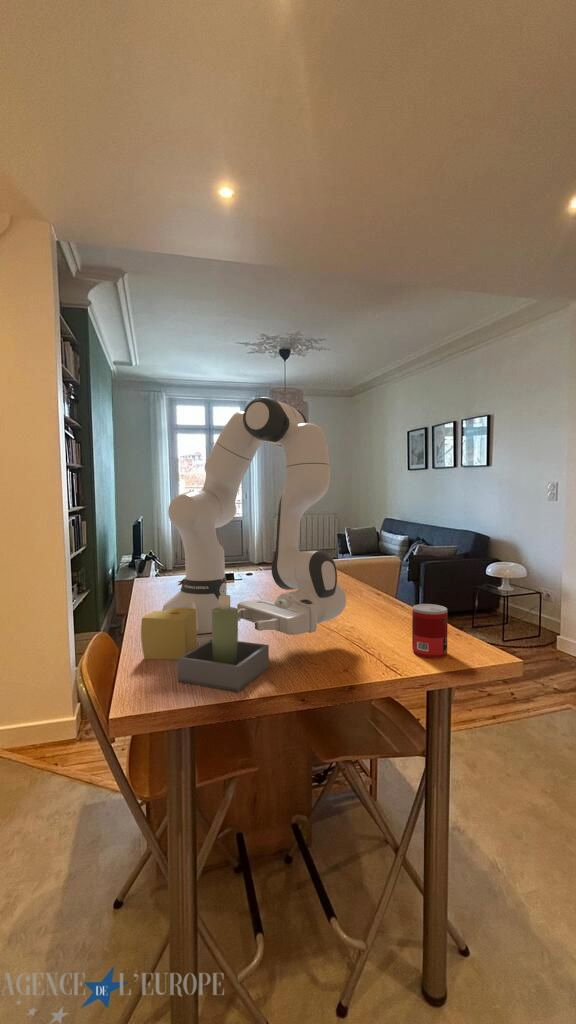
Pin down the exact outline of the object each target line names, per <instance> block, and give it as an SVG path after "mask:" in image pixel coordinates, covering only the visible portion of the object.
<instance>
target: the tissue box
mask: <svg viewBox="0 0 576 1024" xmlns="http://www.w3.org/2000/svg"><path fill="white" fill-rule="evenodd" d="M140 623H141V625H140V626H141V627H140V639H141V648H142V654H143V659H144V660H162V661H163V660H167V661H168V660H169V661H170V660H172V661H174V660H176V661H178V658H179V657H180V656H182V655H184V654H186V653H188V652H189V651H191V650H193V649H195V648H197V641H198V640H197V639H198V638H197V635H198V634H197V627H196V609H190V608H171V609H168V610H165V611H162V610H155V611H152V612H150V613H147V614H145V615H144V616H143V617H141V622H140Z"/></svg>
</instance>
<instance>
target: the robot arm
mask: <svg viewBox="0 0 576 1024" xmlns="http://www.w3.org/2000/svg"><path fill="white" fill-rule="evenodd" d="M218 435H219V436H218V437H217V439H216V442H214V443H215V444H213V445H214V446H213V447H212V450H211V452H210V453H209V456H208V457H207V460H206V462H205V463H204V471H205V478H204V479H205V480H204V483H203V487H202V489H200V490H196V491H194V490H190V491H187V492H184V493H181V494H179V495H177V496H175V497H174V498H173V499H172V500H171V502H170V503H169V505H168V509H167V511H168V518H169V520H170V522H171V524H172V525H173V526H174V527H175V528H176V529H177V531H178V534H179V536H180V539H181V542H182V544H183V545H182V546H183V551H184V559H185V560H184V562H185V563H184V564H185V565H184V567H185V577H184V578H183V579H181V580H179V581H177V583H178V584H177V586H181V587H180V591H178V592H177V593H176V594H175V595H174V596H172V598H170V599H169V600H167V601H166V602H165V603H164V604H163V605H162V609H161V611H165V610H168V609H171V608H190V609H196V627H197V635H199V634H210V633H211V634H212V609H215V608H219V596H220V595H227V593H228V592H227V577H226V572H225V569H226V568H225V567H226V566H225V563H226V562H225V549H224V548H223V546H222V545H221V544H220V542H219V539H218V536H217V531H216V529H217V528H221V527H223V526H225V525H227V524H228V523H230V522H231V521H233V519H234V517H235V515H236V512H237V506H236V501H237V497H238V493H239V488H240V485H241V484H242V483H241V482H242V481H243V479H244V477H245V475H246V473H247V471H248V469H249V468H250V465H251V463H252V461H253V459H254V457H255V455H256V453H257V451H258V450H259V448H260V447H261V446H262V445H263V444H265V443H267V444H271V445H274V446H280V447H282V448H283V450H284V454H285V468H286V469H285V483H284V489H283V493H282V494H281V495H280V499H279V504H278V513H277V526H276V541H275V543H276V544H275V550H274V555H273V559H272V563H271V576H272V579H273V580H274V582H275V584H276V585H277V586H278V587H279V588H280V589H283V590H285V591H288V590H289V592H284V593H281V594H280V595H278V596H277V598H276V600H275V601H271V600H266V599H252V600H251V599H250V600H243V601H240V602H238V603H237V605H236V608H237V609H238V622H241V620H242V619H243V620H244V621H248V622H250V623H254V629H255V630H257V631H258V632H261V631H277V632H280V633H283V634H285V635H290V636H291V635H293V636H295V635H302V634H307V633H310V634H311V633H315V632H317V626H318V624H321V623H326V622H328V621H331V620H333V619H335V618H337V617H338V616H340V614H342V613H343V611H344V610H345V608H346V606H347V596H346V592H345V591H344V589H343V588H342V586H341V585H340V584H339V582H338V574H337V573H338V571H337V566H336V563H335V560H334V559H333V557H332V556H331V555H330V553H328V552H327V551H325V550H307V551H306V550H304V551H300V549H299V544H300V543H299V542H300V529H301V528H300V527H301V520H302V517H303V515H304V513H305V512H306V511H307V510H308V509H309V508H310V507H311V506H313V505H314V504H316V503H317V502H318V501H320V500H321V499H322V498H323V497H324V496H325V495H326V494H327V492H328V490H329V488H330V483H331V469H330V468H331V467H330V455H329V449H328V448H329V447H328V443H327V438H326V434H325V431H324V430H323V429H322V427H321V426H319V425H317V424H315V423H312V422H308V420H307V418H306V416H305V415H304V414H303V412H301V411H300V410H298V409H295V408H294V407H293V406H292V405H289V404H288V403H285V402H281V401H279V400H276V399H274V398H272V397H266V396H263V397H262V396H261V397H256V398H254V399H252V400H251V401H250V402H248V403H247V404H246V406H245V408H244V410H240V411H237V412H235V413H234V414H233V415H232V416H231V417H230V419H229V420H228V421H227V423H226V424H225V425H224V427H223V428H222V430H221V432H220V433H219V434H218ZM290 590H291V591H290ZM292 590H294V591H292Z"/></svg>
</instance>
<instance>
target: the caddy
mask: <svg viewBox="0 0 576 1024" xmlns="http://www.w3.org/2000/svg"><path fill="white" fill-rule="evenodd" d="M269 647H270V646H269V644H263V643H255V642H248V641H240V640H238V665H232V664H225V663H219V662H212V638H211V639H209V640H207V641H206V642H203V643H202V644H200V645H198V646H196V647H195V648H194V649H193V650H191V651H189V652H188V653H186V654H184V655H182V656H180V657H179V658H178V660H177V681H178V683H183V684H187V683H188V684H187V685H193V684H195V685H194V686H198V685H200V686H199V687H204V686H205V687H204V688H210V689H216V690H221V691H222V690H223V691H228V692H234V693H240V692H242V691H243V689H245V688H246V687H247V686H248V685H249V684H251V683H252V682H253V681H254V680H256V679H257V678H258V677H259V676H260V675H262V674H263V673H264V672H265V671H266V670H267V669H269V668H270V662H269V660H270V658H269V657H270V655H269V654H270V650H269V649H270V648H269Z"/></svg>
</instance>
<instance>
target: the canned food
mask: <svg viewBox="0 0 576 1024" xmlns="http://www.w3.org/2000/svg"><path fill="white" fill-rule="evenodd" d="M411 611H412V612H411V616H412V617H411V618H412V619H411V620H412V621H411V622H412V623H411V625H412V628H411V630H412V631H411V632H412V633H411V634H412V642H411V643H412V644H411V645H412V646H411V647H412V648H411V649H412V650H413V651H412V652H413V654H415V655H416V656H418V657H419V658H420V657H421V658H425V659H441V658H444V657H446V656H447V654H448V618H449V617H448V608H447V607H445V606H443V605H439V604H432V603H420V604H415V605H413V606H412V610H411Z"/></svg>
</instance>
